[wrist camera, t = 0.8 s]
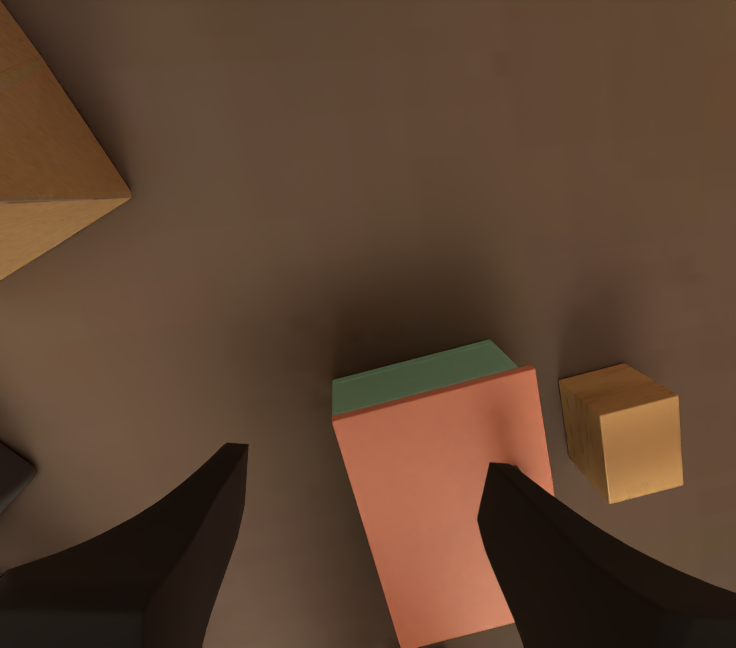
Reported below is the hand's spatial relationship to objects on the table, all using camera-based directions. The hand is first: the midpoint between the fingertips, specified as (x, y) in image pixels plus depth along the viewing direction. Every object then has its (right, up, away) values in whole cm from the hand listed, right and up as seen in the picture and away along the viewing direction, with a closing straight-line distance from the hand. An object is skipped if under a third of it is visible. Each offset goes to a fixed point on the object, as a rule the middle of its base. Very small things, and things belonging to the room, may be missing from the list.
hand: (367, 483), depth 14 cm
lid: (+4, -4, +8) cm, 10 cm away
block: (+12, 0, +11) cm, 17 cm away
